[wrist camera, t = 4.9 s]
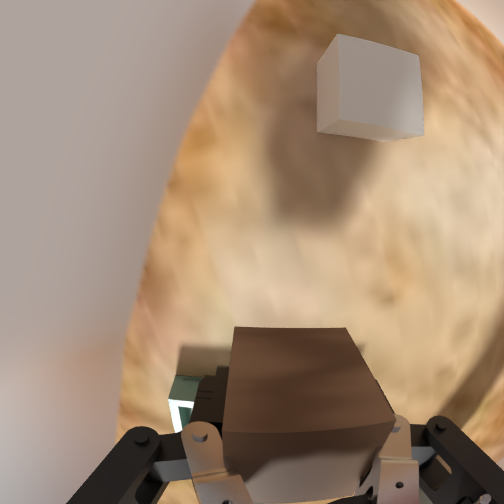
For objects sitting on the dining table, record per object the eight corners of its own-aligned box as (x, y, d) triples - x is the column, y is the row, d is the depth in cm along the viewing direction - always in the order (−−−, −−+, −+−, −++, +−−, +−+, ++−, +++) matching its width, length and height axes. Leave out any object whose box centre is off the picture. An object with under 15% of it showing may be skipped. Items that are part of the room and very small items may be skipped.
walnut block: (345, 327, 12) (396, 420, 6) (327, 405, 14) (352, 495, 8) (234, 326, 12) (221, 430, 6) (233, 406, 14) (226, 502, 8)
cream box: (383, 77, 16) (418, 55, 11) (385, 142, 17) (424, 135, 12) (316, 64, 16) (337, 33, 11) (316, 132, 17) (339, 119, 12)
